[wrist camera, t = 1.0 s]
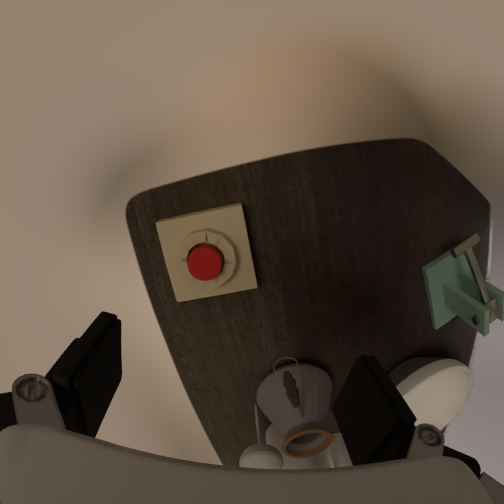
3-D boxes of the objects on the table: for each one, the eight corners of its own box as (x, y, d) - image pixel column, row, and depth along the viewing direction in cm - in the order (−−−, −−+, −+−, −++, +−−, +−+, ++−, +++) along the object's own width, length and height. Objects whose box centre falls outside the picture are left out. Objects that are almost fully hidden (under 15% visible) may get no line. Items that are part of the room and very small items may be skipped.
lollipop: (233, 395, 42) (234, 472, 28) (269, 388, 42) (282, 465, 28) (243, 419, 44) (246, 491, 30) (277, 412, 44) (289, 484, 29)
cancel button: (186, 247, 32) (183, 252, 30) (218, 241, 32) (217, 245, 30) (194, 278, 33) (191, 283, 31) (225, 272, 33) (224, 277, 31)
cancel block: (160, 219, 34) (151, 226, 30) (241, 202, 34) (241, 206, 30) (180, 294, 37) (174, 308, 33) (256, 281, 37) (258, 294, 33)
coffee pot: (331, 395, 43) (357, 464, 29) (264, 413, 44) (273, 486, 29) (311, 285, 38) (350, 350, 23) (225, 308, 38) (221, 384, 23)
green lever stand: (421, 267, 38) (470, 299, 27) (465, 238, 37) (516, 261, 26) (432, 326, 41) (471, 364, 30) (472, 297, 40) (514, 327, 29)
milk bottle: (256, 428, 45) (266, 524, 26) (294, 410, 44) (317, 509, 25) (279, 445, 47) (293, 532, 28) (314, 429, 46) (339, 517, 27)
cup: (340, 417, 45) (356, 457, 36) (351, 446, 49) (364, 481, 39) (299, 433, 46) (308, 475, 36) (314, 459, 49) (324, 495, 40)
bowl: (436, 396, 47) (457, 424, 38) (354, 428, 47) (369, 463, 38) (454, 321, 41) (485, 348, 32) (358, 354, 41) (382, 394, 32)
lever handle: (447, 249, 33) (455, 247, 30) (470, 234, 32) (478, 231, 30) (475, 327, 31) (484, 329, 28) (497, 309, 30) (506, 309, 28)
